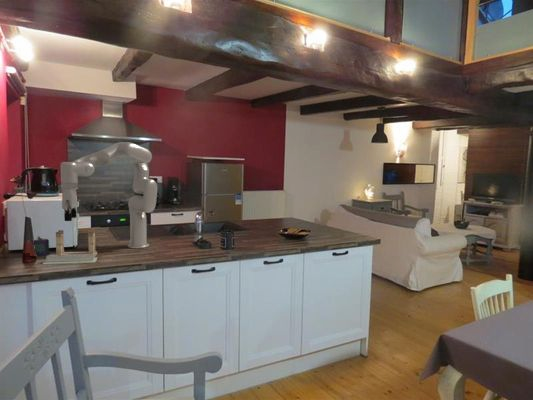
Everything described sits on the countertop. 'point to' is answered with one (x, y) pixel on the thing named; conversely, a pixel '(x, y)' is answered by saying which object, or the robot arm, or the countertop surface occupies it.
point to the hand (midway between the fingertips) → (70, 219)
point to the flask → (41, 246)
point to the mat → (69, 262)
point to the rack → (61, 251)
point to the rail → (69, 257)
